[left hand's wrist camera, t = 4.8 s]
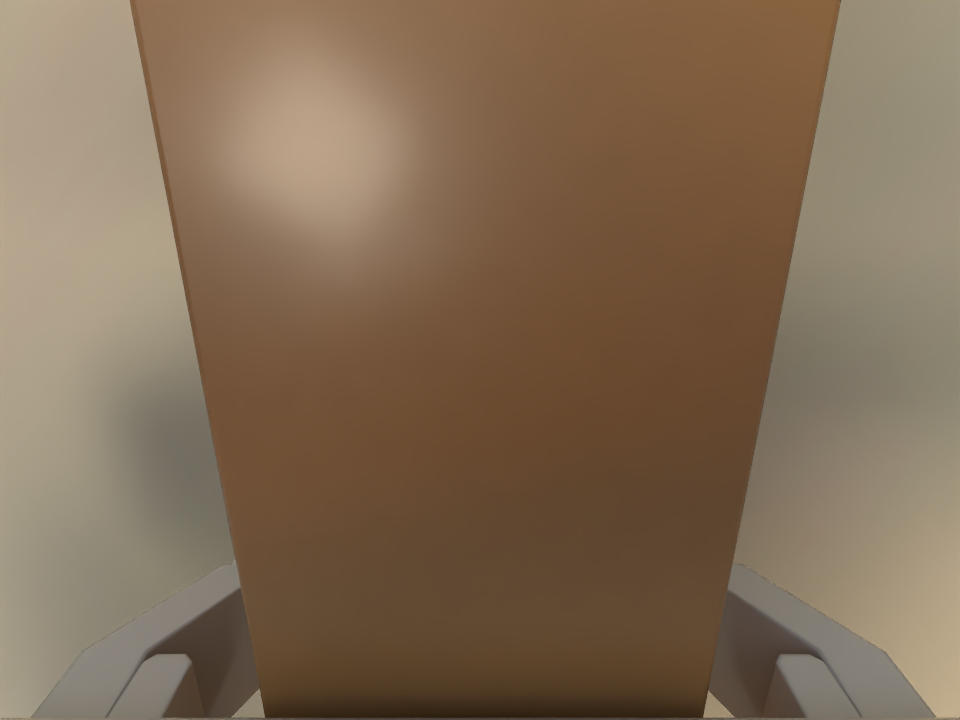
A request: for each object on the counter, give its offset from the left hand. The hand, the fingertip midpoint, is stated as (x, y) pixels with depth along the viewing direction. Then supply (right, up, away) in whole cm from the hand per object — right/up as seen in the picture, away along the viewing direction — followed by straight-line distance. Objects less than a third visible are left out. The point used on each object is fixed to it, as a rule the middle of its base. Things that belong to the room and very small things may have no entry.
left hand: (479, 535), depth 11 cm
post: (0, +32, -9) cm, 34 cm away
